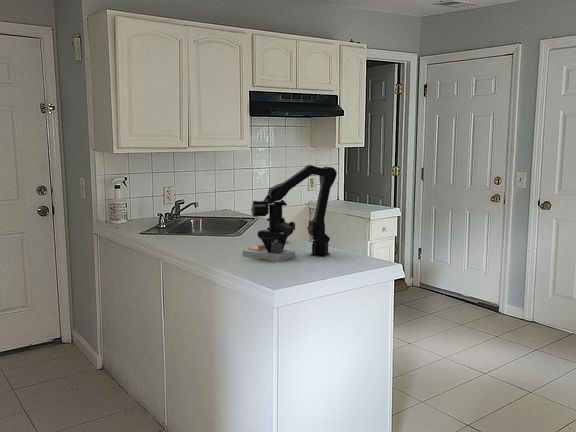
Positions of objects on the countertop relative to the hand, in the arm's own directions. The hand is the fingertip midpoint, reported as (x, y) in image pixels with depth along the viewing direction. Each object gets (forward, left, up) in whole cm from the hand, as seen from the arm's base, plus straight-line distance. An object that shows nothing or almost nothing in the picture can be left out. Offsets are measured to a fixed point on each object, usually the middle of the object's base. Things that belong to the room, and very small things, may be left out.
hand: (275, 251), depth 243 cm
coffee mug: (+19, -26, -3) cm, 32 cm away
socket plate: (+4, 0, -3) cm, 5 cm away
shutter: (+10, 0, 0) cm, 10 cm away
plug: (0, 0, -3) cm, 3 cm away
